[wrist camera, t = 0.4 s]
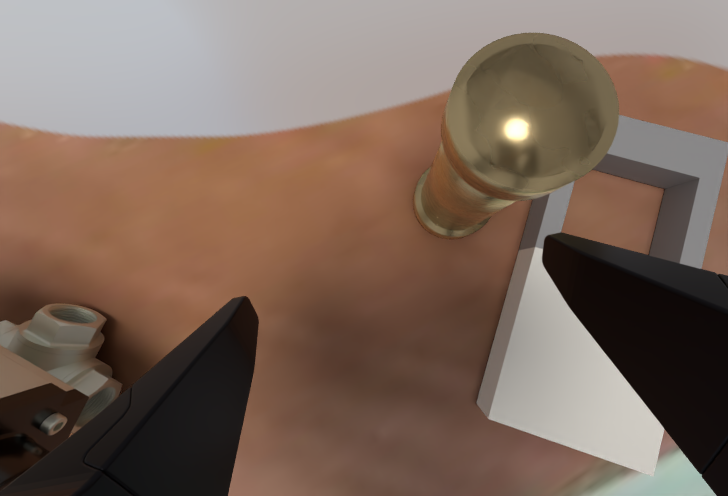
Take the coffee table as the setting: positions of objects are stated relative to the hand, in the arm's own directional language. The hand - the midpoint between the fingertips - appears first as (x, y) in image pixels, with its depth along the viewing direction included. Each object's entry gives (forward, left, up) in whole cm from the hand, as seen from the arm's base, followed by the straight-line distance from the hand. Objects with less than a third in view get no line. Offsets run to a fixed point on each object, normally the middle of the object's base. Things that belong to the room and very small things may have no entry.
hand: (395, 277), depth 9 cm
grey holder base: (-11, -9, -14) cm, 20 cm away
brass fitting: (0, -7, -14) cm, 16 cm away
